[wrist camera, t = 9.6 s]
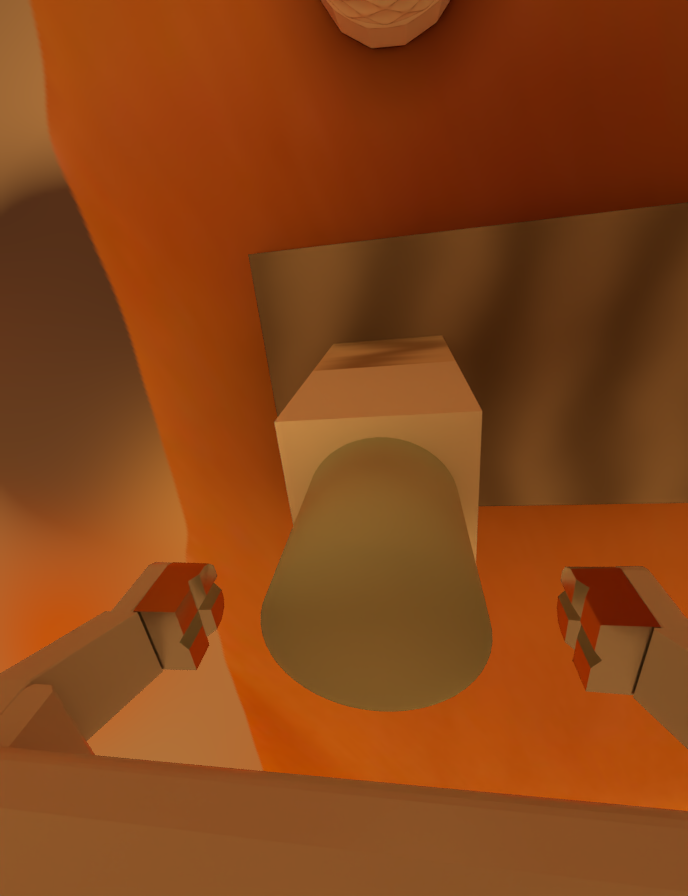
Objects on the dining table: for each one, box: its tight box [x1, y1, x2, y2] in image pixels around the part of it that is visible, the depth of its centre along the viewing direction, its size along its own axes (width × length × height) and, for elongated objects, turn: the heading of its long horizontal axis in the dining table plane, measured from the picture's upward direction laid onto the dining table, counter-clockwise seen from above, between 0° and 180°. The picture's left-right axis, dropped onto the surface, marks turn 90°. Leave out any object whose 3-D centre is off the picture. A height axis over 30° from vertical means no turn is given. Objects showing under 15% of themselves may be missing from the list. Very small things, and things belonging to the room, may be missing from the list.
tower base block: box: [313, 335, 455, 371], centre depth 21 cm, size 6×6×6 cm
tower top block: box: [274, 361, 482, 562], centre depth 16 cm, size 6×6×6 cm
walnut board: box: [248, 202, 688, 506], centre depth 23 cm, size 26×16×2 cm, turn 96°
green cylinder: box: [261, 437, 492, 711], centre depth 11 cm, size 5×5×5 cm
